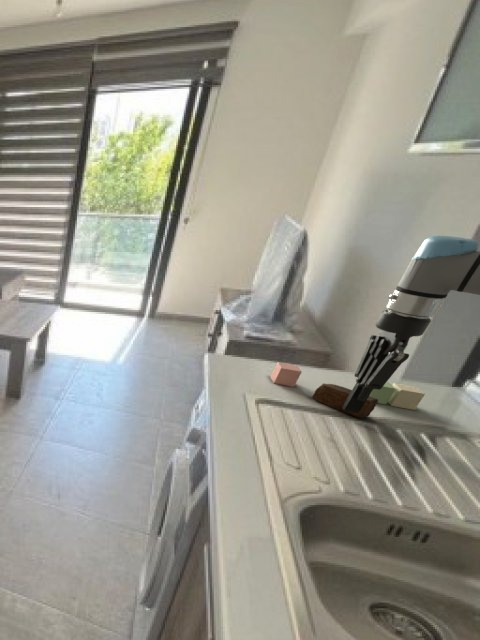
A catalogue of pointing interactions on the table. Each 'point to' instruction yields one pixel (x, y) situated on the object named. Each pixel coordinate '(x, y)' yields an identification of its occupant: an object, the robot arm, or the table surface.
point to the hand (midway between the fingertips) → (350, 410)
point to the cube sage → (383, 393)
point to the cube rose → (285, 374)
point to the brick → (341, 399)
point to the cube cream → (405, 396)
